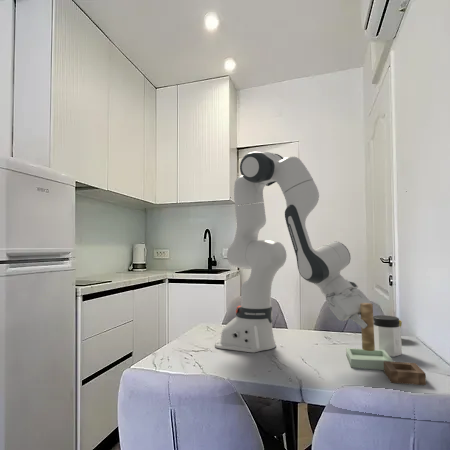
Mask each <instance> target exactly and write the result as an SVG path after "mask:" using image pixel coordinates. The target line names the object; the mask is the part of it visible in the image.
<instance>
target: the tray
mask: <svg viewBox="0 0 450 450" xmlns="http://www.w3.org/2000/svg"><path fill="white" fill-rule="evenodd" d="M345 352H346V353H345V354H346V358H347V361H348V363H349V366H350V368H353V369H369V370H382V371H384V361H389V362H395V361H394V360H393V358H392V357H391V356H389V355H388V354H387V352H386V351H385V350H374V351H366V350H363V349H362V348H356V347H355V348H352V347H345Z"/></svg>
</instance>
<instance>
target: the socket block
mask: <svg viewBox="0 0 450 450" xmlns="http://www.w3.org/2000/svg"><path fill="white" fill-rule="evenodd" d="M383 373H384V374H385V375H386V378H388V380H389V381H390V383H391V384H406V385H417V386H427V381H426V380H427V379H426V378H427V377H426V375H427V374H426V372H425V371H424V370H423V369H422V368H421V367H420V366H419V365H418V364H417V363H415V362H406V361H405V362H401V361H394V362H389V361H384V370H383Z"/></svg>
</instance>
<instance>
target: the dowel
mask: <svg viewBox="0 0 450 450" xmlns="http://www.w3.org/2000/svg"><path fill="white" fill-rule="evenodd" d="M371 303H372V302H371ZM371 303H360V308H361V315H360V318H361V319H362V320H365V321H366V322H367V323H368V326H367V327H366V328H364V329H363V328H362V327H361V326H360V328H361V331H360V332H361V349H363V350H366V351H374V350H375V344H374V323H373V317H374V309H373V308H374V307H373V306H374V304H373V303H372V304H371Z"/></svg>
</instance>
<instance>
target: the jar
mask: <svg viewBox="0 0 450 450" xmlns="http://www.w3.org/2000/svg"><path fill="white" fill-rule="evenodd" d="M373 320H374V344H375V350H385V351H386V352H387V354H388V355H389V356H390V357H391V358H392V357H393V358H395V357H398V356H401V355H402V354H403V350H402V349H403V348H402V325H401V326H399V320H400V318H399V317H397V316H393V315H383V314H380V315H373Z"/></svg>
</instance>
